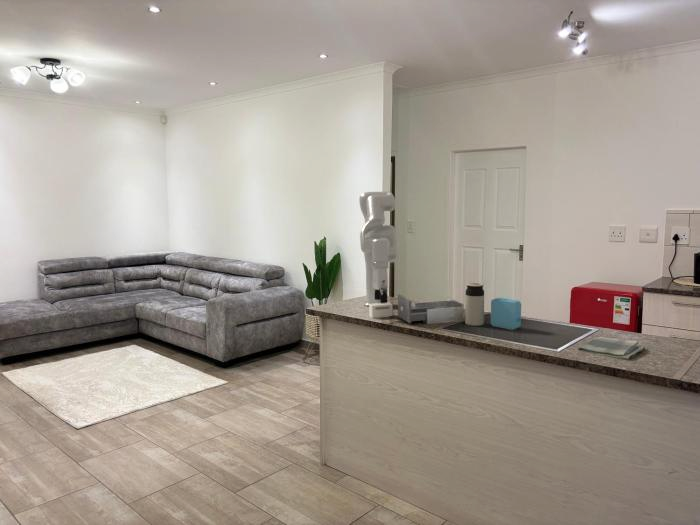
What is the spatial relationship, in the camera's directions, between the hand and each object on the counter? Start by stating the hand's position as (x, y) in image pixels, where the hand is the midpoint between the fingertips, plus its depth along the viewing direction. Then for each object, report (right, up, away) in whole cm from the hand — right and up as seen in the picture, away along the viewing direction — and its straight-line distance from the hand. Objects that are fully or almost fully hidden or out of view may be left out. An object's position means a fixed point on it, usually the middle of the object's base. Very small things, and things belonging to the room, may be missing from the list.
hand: (380, 301), depth 252 cm
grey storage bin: (+26, -8, -5) cm, 28 cm away
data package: (+52, -10, -22) cm, 58 cm away
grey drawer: (+17, -7, -7) cm, 20 cm away
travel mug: (+40, -9, -16) cm, 44 cm away
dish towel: (+81, -14, -57) cm, 100 cm away
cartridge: (0, -7, +2) cm, 8 cm away
